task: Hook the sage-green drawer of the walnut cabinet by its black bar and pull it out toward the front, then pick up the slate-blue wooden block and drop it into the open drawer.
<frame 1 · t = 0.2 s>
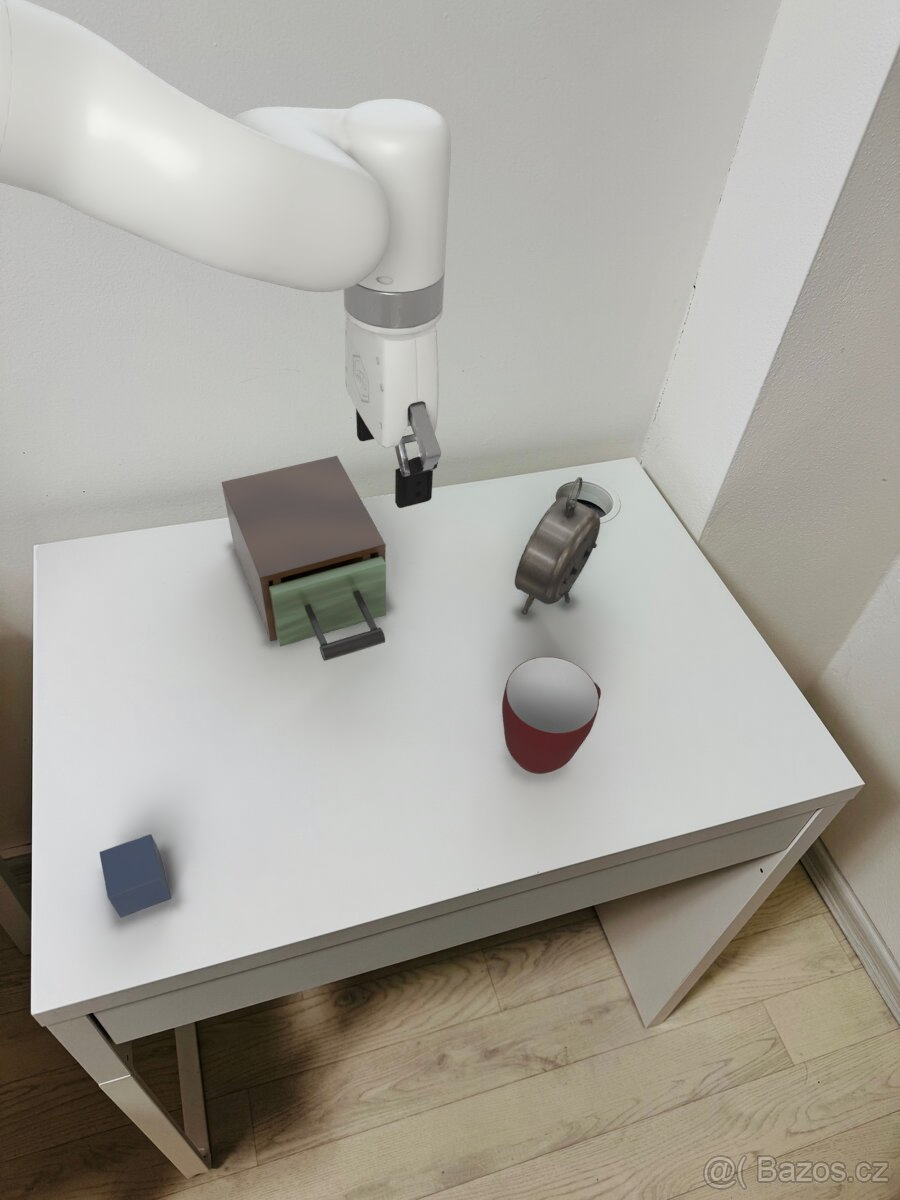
hand: (393, 468, 76), 19 cm above the table, tool pointing down, fingers open, 9 cm apart
alarm clock: (551, 595, 92), on the table
cabinet: (307, 576, 92), on the table
drawer: (321, 582, 85), point 5 cm above the table, slide at 0.5 cm
mug: (544, 748, 79), on the table
block: (141, 885, 68), on the table
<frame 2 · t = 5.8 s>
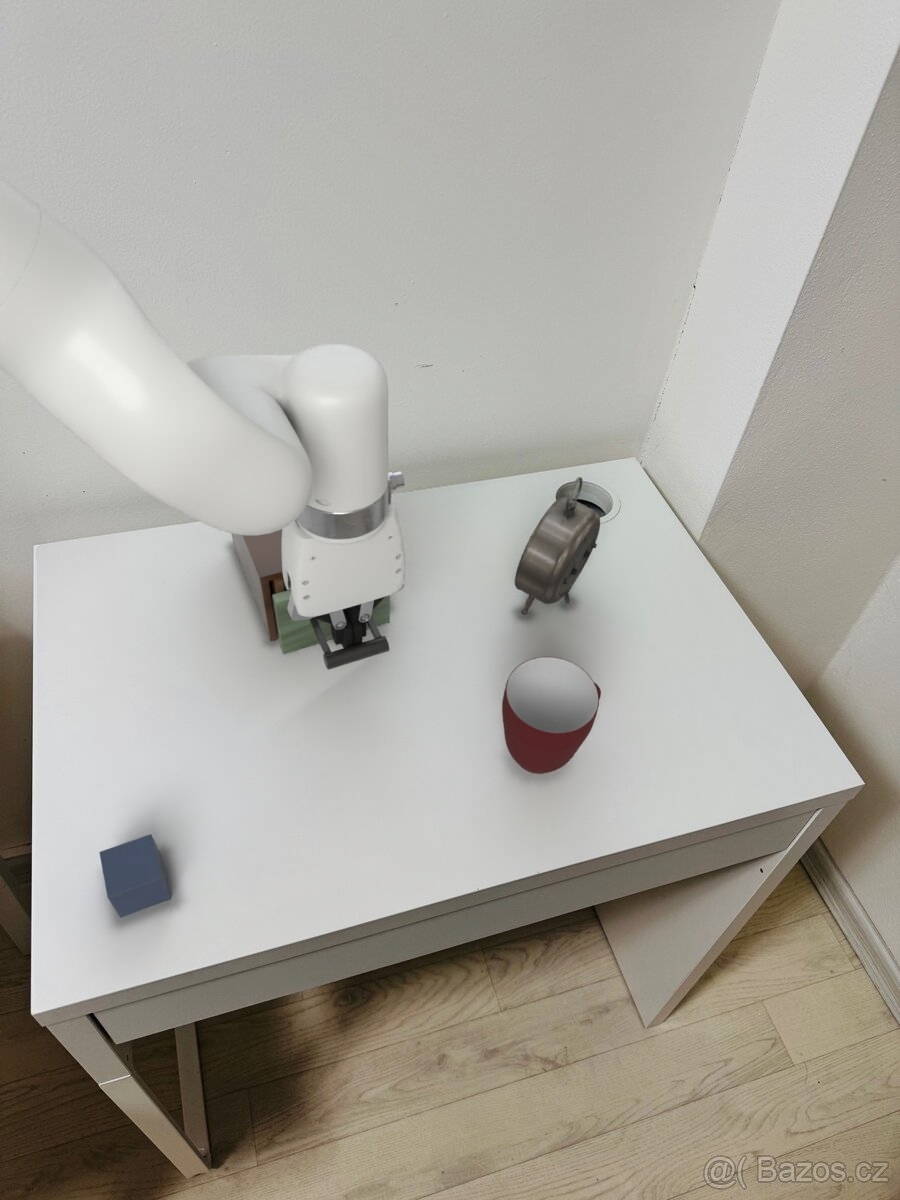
hand: (349, 641, 80), 5 cm above the table, tool pointing down, fingers closed
drawer: (325, 589, 84), point 5 cm above the table, slide at 1.6 cm, touching gripper
everything else where it was.
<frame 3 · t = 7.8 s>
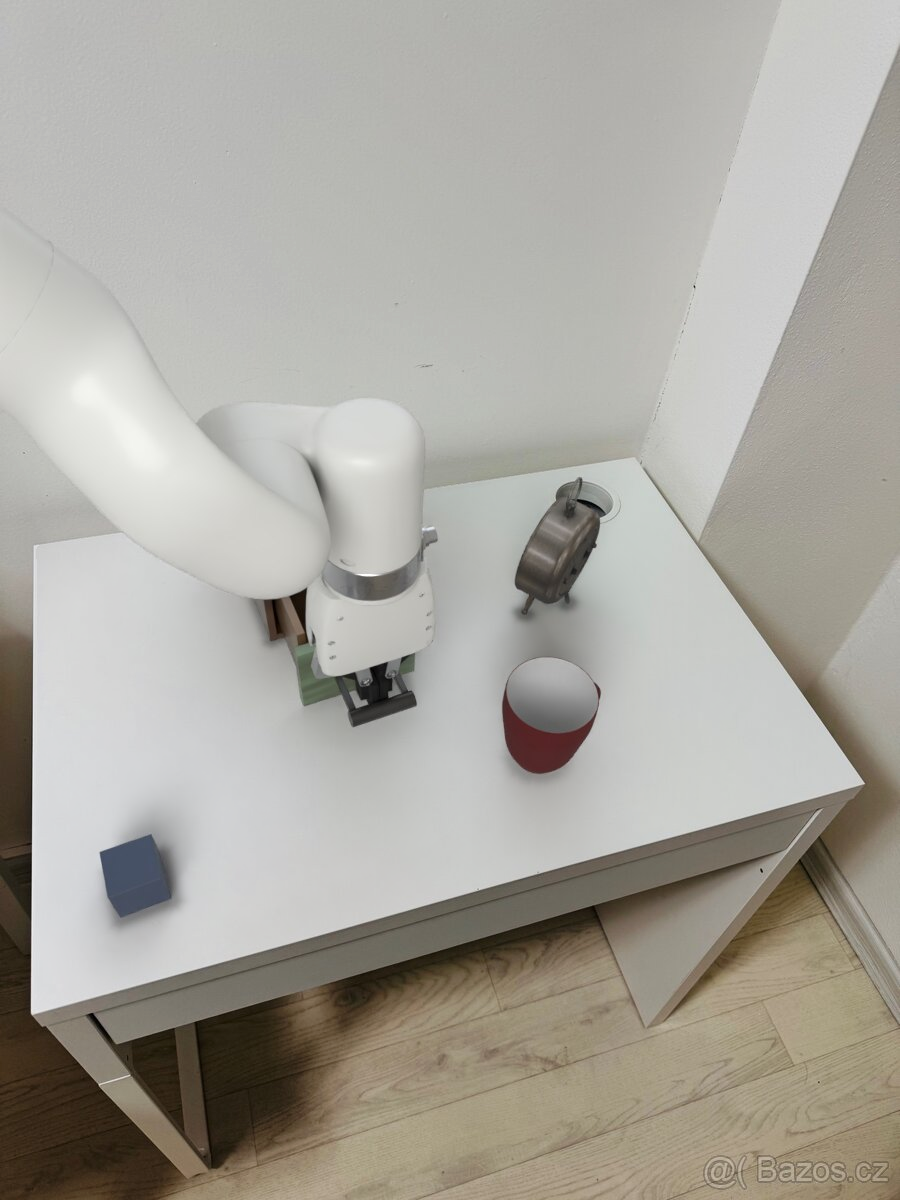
hand: (374, 696, 76), 4 cm above the table, tool pointing down, fingers closed
drawer: (347, 638, 80), point 5 cm above the table, slide at 8.3 cm, touching gripper
everything else where it was.
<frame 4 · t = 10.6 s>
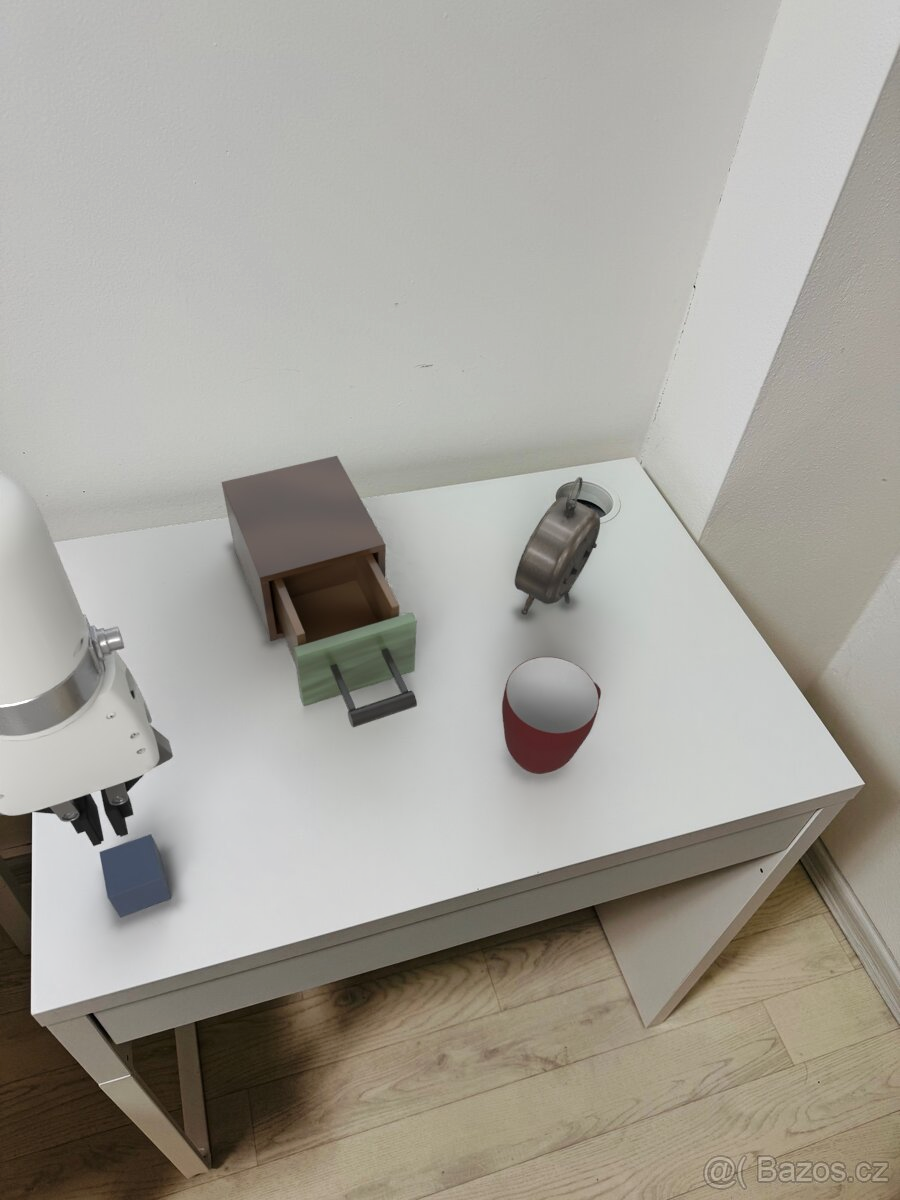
hand: (107, 822, 60), 11 cm above the table, tool pointing down, fingers closed
drawer: (347, 638, 80), point 5 cm above the table, slide at 8.3 cm
everything else where it was.
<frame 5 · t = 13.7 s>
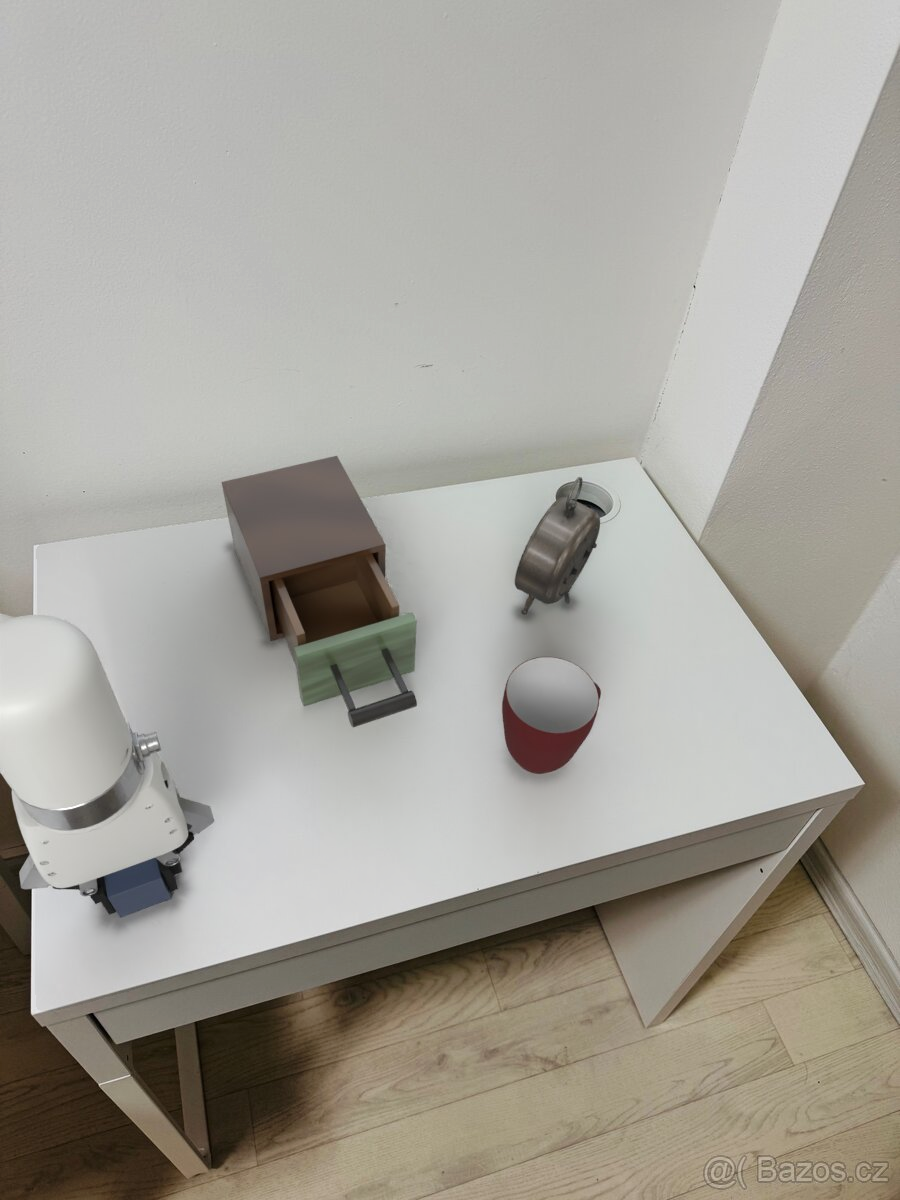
hand: (140, 884, 68), 0 cm above the table, tool pointing down, fingers closed on block, 4 cm apart
block: (141, 885, 68), on the table, touching gripper
everything else where it was.
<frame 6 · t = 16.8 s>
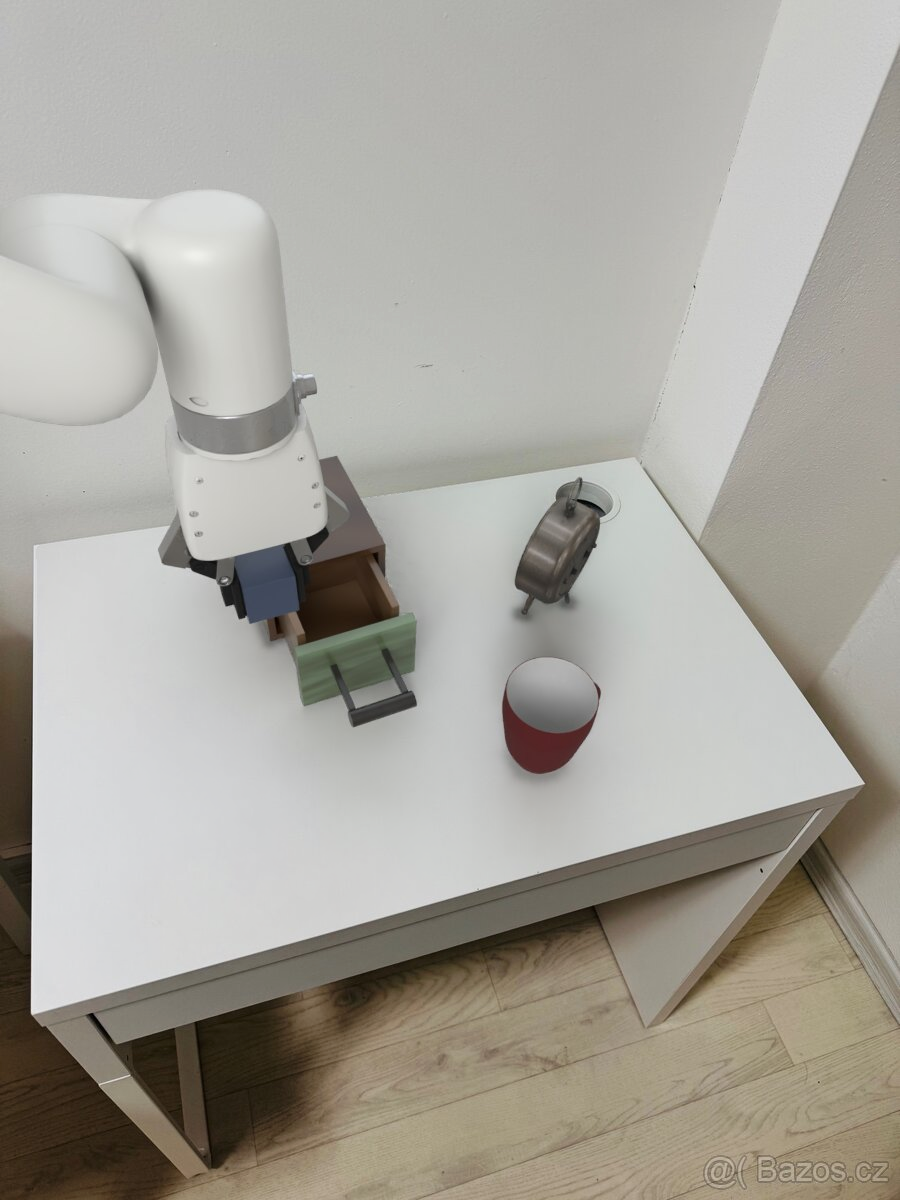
hand: (267, 596, 66), 18 cm above the table, tool pointing down, fingers closed on block, 4 cm apart
block: (268, 599, 66), point 17 cm above the table, touching gripper
everything else where it was.
when the fingers open (8 cm above the table, at t = 20.3 s): block drops 6 cm, resting on drawer.
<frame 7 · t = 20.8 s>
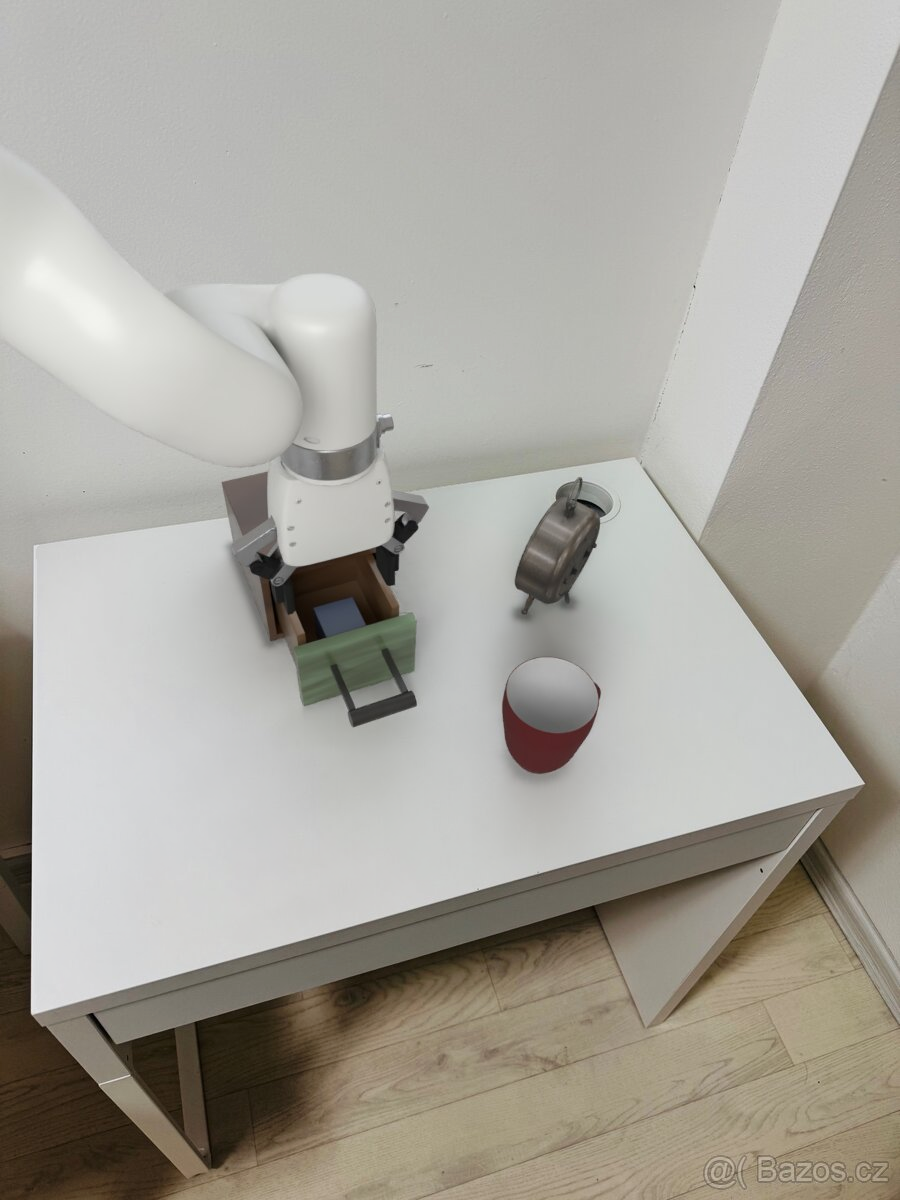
hand: (337, 589, 77), 10 cm above the table, tool pointing down, fingers open, 9 cm apart
drawer: (347, 638, 80), point 5 cm above the table, slide at 8.3 cm, touching block
block: (341, 642, 83), point 2 cm above the table, touching drawer
everything else where it was.
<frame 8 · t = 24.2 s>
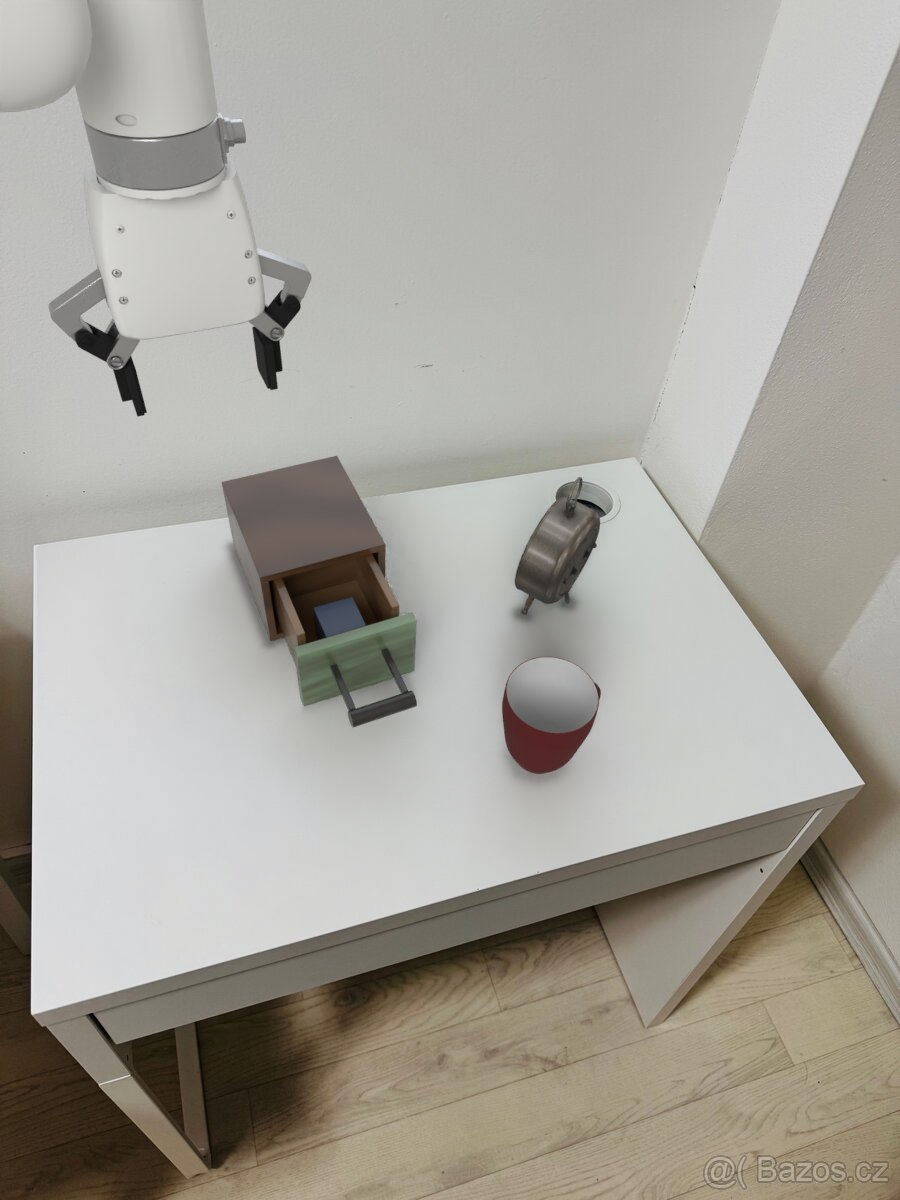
hand: (204, 392, 62), 30 cm above the table, tool pointing down, fingers open, 9 cm apart
nothing on the table moved.
at the end: drawer slide at 8.3 cm; block inside the target area in the drawer (1.1 cm from its centre), point 2.0 cm above the cabinet's base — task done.
